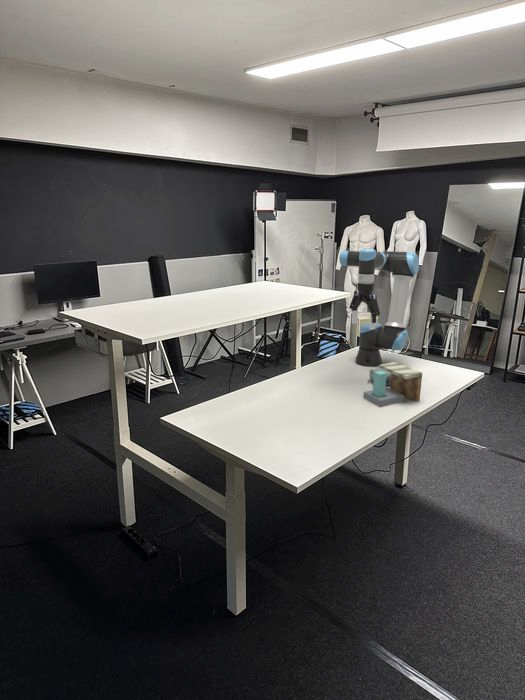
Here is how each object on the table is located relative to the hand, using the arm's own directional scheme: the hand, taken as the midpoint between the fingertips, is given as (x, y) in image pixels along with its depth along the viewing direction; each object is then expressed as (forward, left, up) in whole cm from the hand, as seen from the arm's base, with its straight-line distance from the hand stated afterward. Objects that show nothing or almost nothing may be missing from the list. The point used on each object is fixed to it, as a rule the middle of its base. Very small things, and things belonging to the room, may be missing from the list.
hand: (363, 326), depth 229 cm
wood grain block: (+18, +9, -32) cm, 38 cm away
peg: (+18, -3, -32) cm, 37 cm away
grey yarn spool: (0, +14, -32) cm, 35 cm away
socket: (+18, 0, -32) cm, 36 cm away
